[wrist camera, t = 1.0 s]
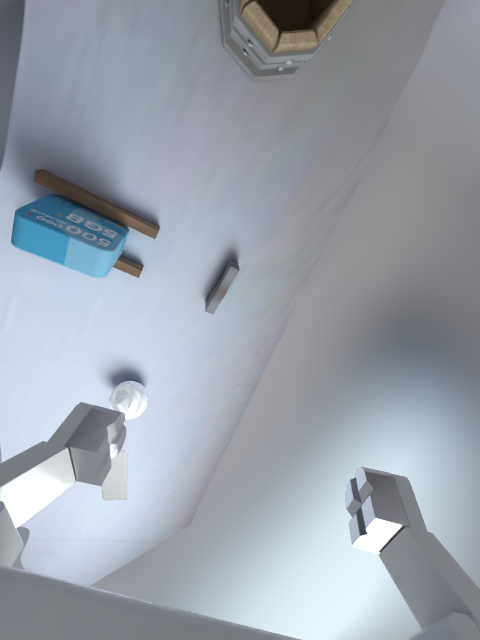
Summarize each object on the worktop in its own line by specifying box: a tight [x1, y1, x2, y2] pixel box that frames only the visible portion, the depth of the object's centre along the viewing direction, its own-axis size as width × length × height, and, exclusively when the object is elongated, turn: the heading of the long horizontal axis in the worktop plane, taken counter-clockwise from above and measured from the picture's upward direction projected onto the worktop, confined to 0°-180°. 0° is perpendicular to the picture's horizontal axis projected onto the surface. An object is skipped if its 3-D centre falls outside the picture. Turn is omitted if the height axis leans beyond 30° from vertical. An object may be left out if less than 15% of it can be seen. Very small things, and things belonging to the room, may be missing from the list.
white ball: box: [109, 381, 148, 419], centre depth 66 cm, size 8×8×8 cm
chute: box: [34, 169, 239, 314], centre depth 50 cm, size 10×33×3 cm, turn 61°
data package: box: [11, 195, 129, 278], centre depth 44 cm, size 12×4×12 cm, turn 62°
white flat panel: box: [102, 451, 129, 500], centre depth 88 cm, size 25×24×1 cm
